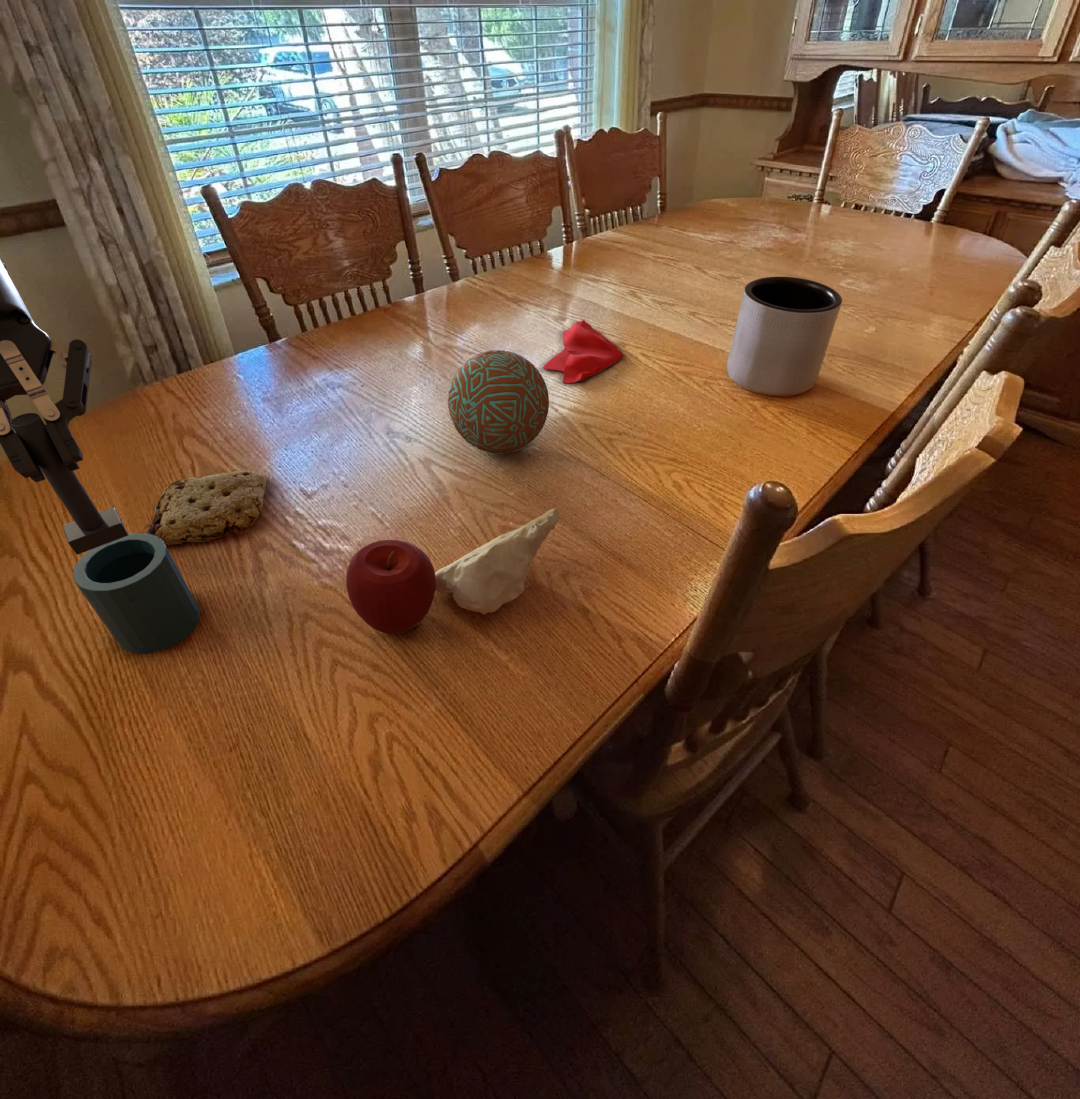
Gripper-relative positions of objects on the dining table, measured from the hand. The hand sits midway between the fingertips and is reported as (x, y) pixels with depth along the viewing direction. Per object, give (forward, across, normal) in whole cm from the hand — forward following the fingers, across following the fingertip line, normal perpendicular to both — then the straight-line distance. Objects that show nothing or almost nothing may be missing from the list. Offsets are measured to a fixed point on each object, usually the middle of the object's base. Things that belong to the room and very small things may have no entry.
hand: (56, 472), depth 52 cm
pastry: (+2, +11, +33) cm, 35 cm away
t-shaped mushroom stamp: (+5, 0, +8) cm, 9 cm away
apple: (+25, +22, +9) cm, 35 cm away
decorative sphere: (+10, +52, +25) cm, 59 cm away
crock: (+14, 0, +21) cm, 25 cm away
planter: (+18, +104, +17) cm, 107 cm away
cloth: (-2, +84, +37) cm, 92 cm away
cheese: (+26, +35, +8) cm, 45 cm away
